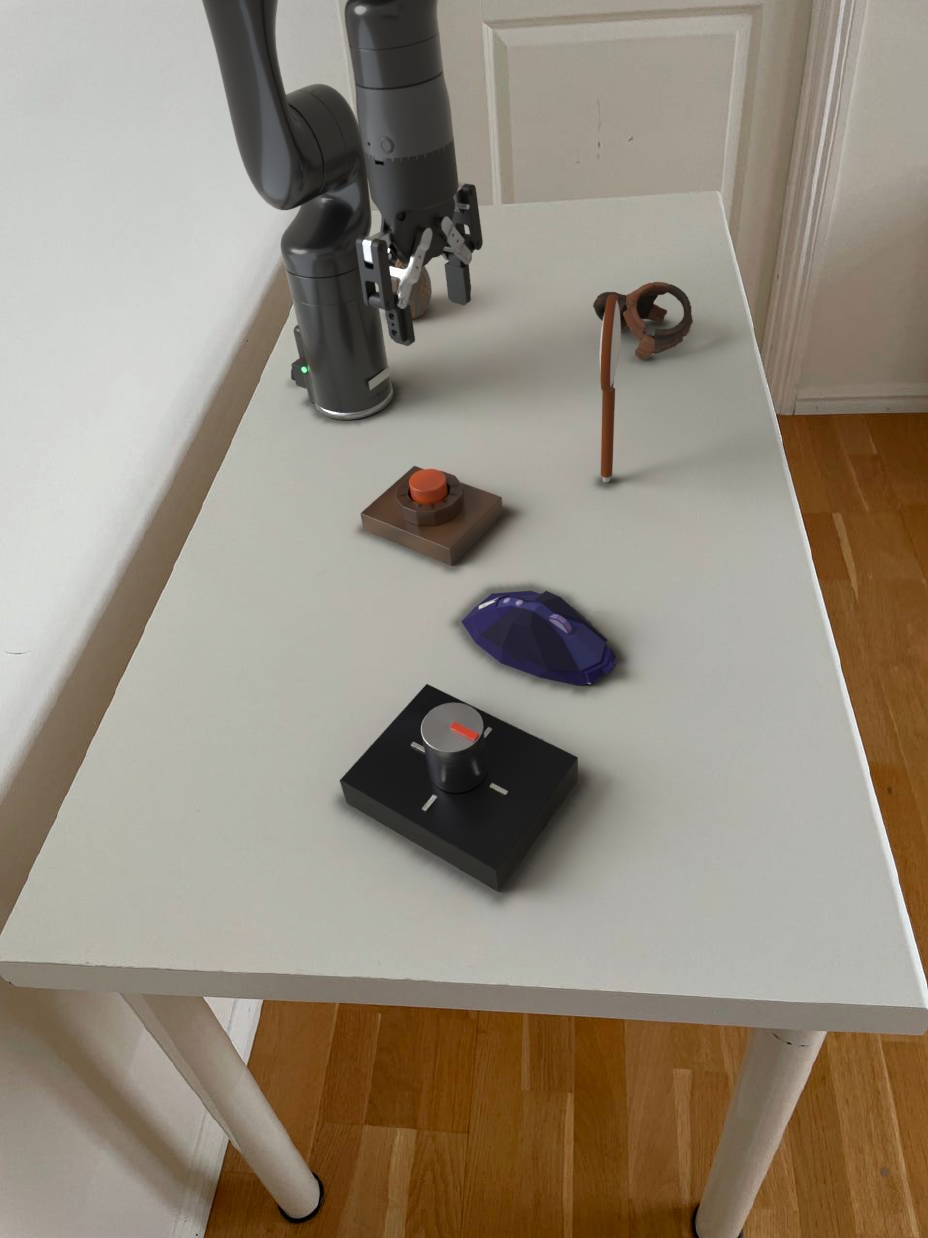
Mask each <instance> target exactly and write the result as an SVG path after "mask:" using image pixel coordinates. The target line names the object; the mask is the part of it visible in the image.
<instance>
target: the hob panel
mask: <svg viewBox="0 0 928 1238" xmlns="http://www.w3.org/2000/svg"><path fill="white" fill-rule="evenodd" d="M446 703H463V704H466V705H468V706H471V707H472V708H474V709H475V710H476V711H477V712H478V713H479V714H480V716H481V718H482V721H483V727H484V736H485V745H486V754H487V762H488V770H487V774H486V776H485V778H484V780H483V781H482V782H481V783H480V784H479V785H478V786H477V787H475V788H474V789H472V790H469V791H466V792H462V793H451V792H447V791H444V790H442V789H440V788H438V787H437V786H436V785H435V784H434V783H433V782H432V780H431V778H430V775H429V771H428V766H427V760H426V755H425V750H424V745H423V740H422V734H421V725H422V722H423V720H424V718H425V716H426V715H427V714H428V713H429V712H430V711H431V710H432V709H434V708H435V707H437V706H440V705H442V704H446ZM578 781H579V757H578V756H576V755H574V754H573V753H570V752H568V751H566V750H564V749H562V748H560V747H558V746H556V745H554V744H552V743H550V742H548V741H546V740H544V739H541V738H539V737H537V736H535V735H534V734H531V733H530V732H527V731H525V730H523V729H521V728H519V727H517V726H515V725H513V724H511V723H508V722H507V721H504V720H503V719H500V718H498V717H496V716H494V715H492V714H490V713H488V712H487V711H484V710H482V709H480V708H478V707H476V706H474V705H472V704H470V703H467V702H466V701H463V700H461V699H460V698H457V697H455V696H454V695H450V694H449V693H448V692H445V691H443V690H441V689H439V688H437V687H434V686H432V685H430V684H428V683H426V684H424V686H423V687H422V688H421V689H420V691H418V692H417V694H416V695H415V696H414V697H413V698H412V699H411V701H410V702H408V704H407V705H405V707H404V708H403V710H401V711H400V713H399V714H398V715H397V716H396V717H395V718H394V719H393V720H392V722H390V724H389V725H388V726H387V727H386V728H385V729H384V730H383V731H382V732H381V734H380V735H379V736H378V737H377V738H376V739H375V740H374V741H373V743H372V744H371V745H370V746H369V747H368V748H367V749H366V751H364V752H363V754H362V755H361V756H360V757H359V758H358V759H357V760H356V762H354V764H353V765H352V766H351V767H350V768H349V769H348V770H347V772H346V773H345V774H344V775H343V776H342V777H341V778H340V779H339V782H340V786H341V790H342V794H343V797H344V798H345V802H346V804H348V805H349V806H351V807H353V808H355V809H356V810H358V811H359V812H361V813H363V814H365V815H367V816H368V817H370V818H371V819H373V820H374V821H376V822H379V823H380V824H382V825H384V826H385V827H386V828H389V829H390V830H392V831H394V832H395V833H397V834H399V835H401V836H403V837H404V838H405V839H407V840H409V841H411V842H412V843H415V845H418V846H419V847H421V848H423V849H425V850H426V851H428V852H430V853H431V854H433V855H434V856H437V857H438V858H439V859H442V861H445V862H447V863H448V864H450V865H452V866H453V867H455V868H456V869H459V870H460V871H462V872H464V873H465V874H467V875H468V876H470V877H472V878H474V879H476V880H477V881H479V882H481V883H482V884H485V885H486V886H488V887H489V888H491V889H493V890H494V891H496V892H497V893H499V892H500V891H501V889H502V888H503V887H504V886H505V884H506V882H507V881H508V879H509V878H510V877H511V875H513V872H514V871H515V870H516V868H517V867H519V865H520V864H521V862H522V860H523V858H524V857H525V856H526V855H527V853H528V851H529V850H530V849H531V847H532V846H533V844H534V843H535V841H536V840H537V839H538V838H539V836H540V835H541V833H542V831H544V830H545V827H546V826H547V825H548V823H549V822H550V821H551V819H552V818H553V816H554V815H555V813H556V812H557V811H558V810H559V808H560V807H561V805H562V803H563V802H564V801H565V799H566V798H567V796H568V795H569V794H570V792H571V791H572V789H573V788H574V787H575V785H576V784H577V782H578Z"/></svg>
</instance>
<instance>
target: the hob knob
mask: <svg viewBox="0 0 928 1238" xmlns="http://www.w3.org/2000/svg"><path fill="white" fill-rule="evenodd" d="M421 734H422V740H423V745H424V750H425V755H426V760H427V766H428V771H429V775H430V778H431V780H432V782H433V783H434V784H435V785H436V786H437V787H438V788H440V789H442V790H444V791H447V792H451V793H462V792H466V791H469V790H472V789H474V788H475V787H477V786H478V785H479V784H480V783H481V782H482V781H483V780H484V778H485V776H486V774H487V770H488V762H487V754H486V745H485V736H484V727H483V721H482V718H481V716H480V714H479V713H478V712H477V711H476V710H475V709H474V708H472V707H471V706H468V705H466V704H463V703H446V704H442V705H440V706H437V707H435V708H434V709H432V710H431V711H430V712H429V713H428V714H427V715H426V716H425V718H424V720H423V722H422V725H421Z"/></svg>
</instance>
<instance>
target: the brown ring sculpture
mask: <svg viewBox="0 0 928 1238" xmlns="http://www.w3.org/2000/svg"><path fill="white" fill-rule="evenodd" d="M611 294H615V295H618V297H619V311H620V326H621V331H623V330H624V329H625V328H626V327H628V328H629V330H630V331H631V333H632V334H633V336H634V337H635V338H636V339H637V340H638V341H639V343H638V346H637V348H636V349H635V351H634V352H635V353H634V355H635V356H636V357H637V358H639V359H642V360H644V361H647V360H648V359H649V358H651V357H652V355H659V354H661V353H663V352H665V351H667V350H670V349H672V348H675V347H676V346H678V345H679V344H681V343H682V342H683V340H684V338H685V337H687V336H688V335H689V332H690V331H691V330H690V329H691V327H692V324H693V323H694V320H693V315H692V305H691V301H690V299H689V296H688V295H687V294H686V292H685V291H684V290H682V289H681V288H680V287H678V286H676V285H674V284H671V283H668V282H664V281H654V282H648V283H645V284H642V285H641V286H639V288H636V289H635V290H633V291H632V292H630V293H627V294H622V293H618V292H616V291H605V292H602V293H600V294H599V295H597V297H596V299H595V300H594V302H593V305H592V308H593V309H594V312H595V314H596V316H597V318H599V320H600V321H602V322H603V317H604V313H605V307H606V301H607V298H608V296H609V295H611ZM666 294H670V295H672V296H673V297H675V298H676V300H677V301H678V302H679V303H680V304H681V306H682V309H683V317H682V319H681V320H680V322H679V323H678V324H676V325H675V326H672V327H669V328H654V334H653V335H652V334H651V333H648V332H647V331H646V328H647V323H646V322H645V321H644V320H649V321H653V322H656V323H658V324H663V322H664V320H665V317H666V315H667V314H668V310H667V309H665V308H663V307H660V305H657V304H656V303H655V302H656V300H657V298H658V297H659V296H664V295H666Z"/></svg>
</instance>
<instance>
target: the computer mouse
mask: <svg viewBox="0 0 928 1238" xmlns="http://www.w3.org/2000/svg"><path fill="white" fill-rule="evenodd" d="M460 621H461V623H462V625H463V626H464V628H465V629H466V631H467V633H468V634H469V635H470V637H471V639H472V640H473V641H474V643H475V644H476V645H477V646H478V647H480V648H481V649H482V650H483V651H485V652H486V653H487V654H488V655H490V656H491V657H493V659H495V660H496V661H497V662H499V663H500V664H502V665H504V666H507V667H510V668H513V669H515V670H517V671H521V672H524V673H526V674H529V675H532V676H534V677H538V678H541V679H545V680H550V681H555V682H560V683H565V684H568V685H574V686H578V687H579V686H582V685H583V686H584V685H586V684H587V685H588V684H589V685H592V684H593V683H595V682H597V681H599V679H602V677H603V676H604V675H606V674H610V673H611V672H612V671H613V670H614V669H615V668H616V666H617V664H616V663H615V661H616V659H617V654H615V652H614V650H613V649H612V648H611V647H609V646H608V644H607V642H608V638H607V637H605V636H604V635H603V634H602V633H601V631H599V630H598V629H597V628H596V627H595V626H594V625H593V624H592V623H591V622H590V621H589V620H588V619H587V618H586V617H585V616H584V615H582V614H581V613H580V612H579V611H578V610H576V609H575V608H574V607H573V606H572V605H571V604H569V602H567V601H566V600H565V599H564V598H562V597H561V596H559V595H557V594H555V593H552V592H551V591H548V590H545V591H544V592H542V593H539V592H536V591H533V590H522V591H520V590H519V591H505V592H494V593H490V594H489V595H488V596H487V597H486V598H484V599H483V600H482V601H481V602H479V603H478V604H477V605H476V606H474V607H473V608H472V610H471V611H469V613H468V614H467V615H466V616H465V617H464V618H463V619H462V620H460Z"/></svg>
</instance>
